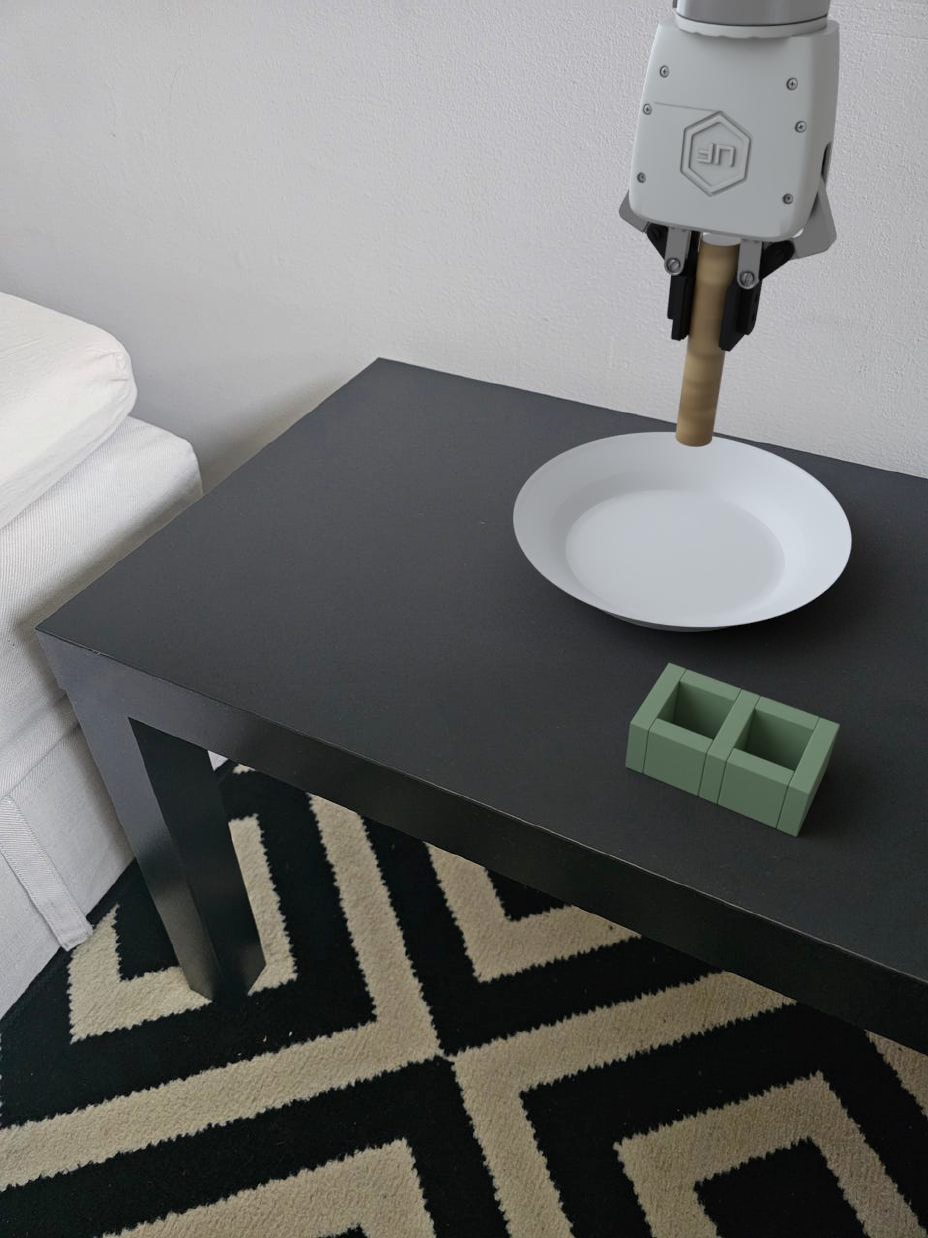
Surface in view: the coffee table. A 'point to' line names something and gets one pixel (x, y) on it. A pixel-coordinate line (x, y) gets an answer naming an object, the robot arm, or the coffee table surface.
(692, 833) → the coffee table surface
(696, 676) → the holder
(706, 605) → the white plate
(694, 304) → the stick
